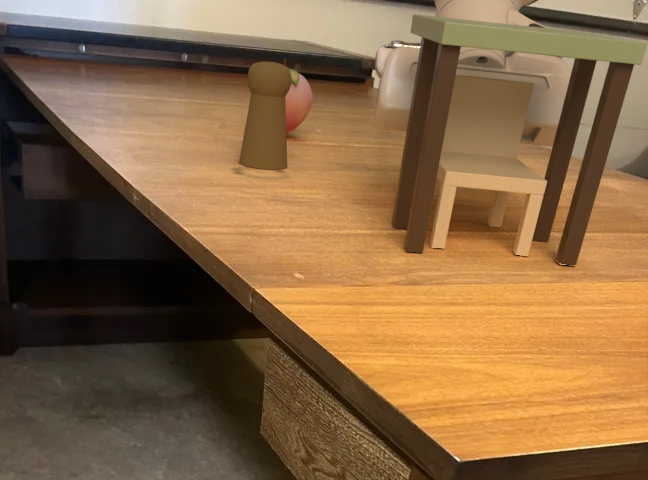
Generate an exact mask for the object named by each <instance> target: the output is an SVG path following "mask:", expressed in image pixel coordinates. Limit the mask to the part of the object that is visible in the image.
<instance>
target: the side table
mask: <svg viewBox="0 0 648 480" xmlns="http://www.w3.org/2000/svg"><path fill="white" fill-rule="evenodd" d="M411 18H412V19H411V26H410V34H412V35H415V36H418V37H420V39H421V40H420V43H421V45H420V51H419V57H418V64H417V70H416V76H415V82H414V88H413V95H412V101H411V107H410V113H409V119H408V125H407V132H405V139H404V145H403V150H402V156H401V157H402V158H401V163H400V164H401V165H400V169H399V175H398V182H397V189H396V194H395V201H394V207H393V213H392V219H391V225H392V227H393V228H394V229H402V230H406V233H405V237H404V238H405V239H404V245H403V248H404V250H405V252H406V253H412V252H416V253H415V254H422V253H423V252H424V247H425V244H426V243H425V242H426V236H427V233H428V232H427V231H428V227H429V221H430V216H431V215H430V214H431V210H432V204H433V199H434V195H433V194H434V189H435V183H436V178H437V173H438V167H439V162H440V156H441V151H442V146H443V140H444V135H445V129H446V124H447V119H448V113H449V108H450V102H451V97H452V92H453V86H454V81H455V75H456V70H457V65H458V59H459V54H460V48H461V46H462V47H471V48H481V49H491V50H500V51H510V52H520V53H529V54H539V55H549V56H558V57H563V58H570V59H574V61H573V65H572V68H571V76H570V80H569V84H568V88H567V92H566V96H565V100H564V104H563V108H562V111H561V115H560V119H559V123H558V127H557V131H556V135H555V139H554V143H553V147H551V151H550V155H549V159H548V163H547V166H546V171H545V175H544V177H543V178H544V179H545V180H546V181H547V184H546V188H545V192H544V195H543V200H542V204H541V208H540V212H539V215H538V219H537V223H536V227H535V231H534V235H533V239H532V241H534V240H535V241H536V242H545V241H548V242H550V237H551V233H552V229H553V225H554V222H555V218H556V214H557V210H558V207H559V203H560V200H561V195H562V192H563V189H564V185H565V181H566V178H567V173H568V170H569V166H570V162H571V159H572V155H573V151H574V148H575V144H576V140H577V136H578V133H579V128H580V125H581V121H582V118H583V114H584V110H585V106H586V102H587V99H588V95H589V91H590V87H591V84H592V80H593V76H594V72H595V69H596V66H597V62H609V63H608V67H607V70H606V75H605V78H604V81H603V84H602V85H603V86H602V89H601V92H600V96H599V100H598V104H597V108H596V110H595V114H594V117H593V121H592V125H591V129H590V132H589V136H588V140H587V143H586V146H585V151H584V154H583V158H582V161H581V164H580V168H579V172H578V176H577V179H576V183H575V187H574V190H573V194H572V198H571V201H570V205H569V208H568V211H567V215H566V220H565V223H564V226H563V229H562V233H561V238H560V241H559V244H558V248H557V252H556V255H555V260H557V261H558V262H559V263H561V264H566V265H576V266H577V263H578V260H579V256H580V253H581V249H582V246H583V242H584V240H585V235H586V231H587V228H588V225H589V221H590V218H591V216H592V215H591V214H592V212H593V208H594V204H595V200H596V199H597V194H598V190H599V187H600V184H601V180H602V176H603V174H604V170H605V168H606V167H605V166H606V163H607V160H608V156H609V152H610V150H611V146H612V143H613V140H614V136H615V133H616V129H617V126H618V122H619V118H620V115H621V112H622V108H623V105H624V101H625V98H626V94H627V91H628V88H629V84H630V81H631V77H632V73H633V70H634V67H635V65H636V66H637V65H638V66H641V65H642V64H643V60H644V57H645V54H646V50H647V46H648V43H647V42H643V41H637V40H632V39H626V38H620V37H613V36H609V35H602V34H597V33H591V32H585V31H578V30H567V29H557V28H550V27H548V28H540V27H530V26H521V25H512V24H502V23H493V22H483V21H474V20H464V19H455V18H445V17H436V16H435V15H426V14H417V13H413V14H412V17H411ZM549 28H550V29H549ZM535 241H534V242H535ZM555 260H554V261H555Z"/></svg>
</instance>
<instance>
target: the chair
mask: <svg viewBox="0 0 648 480" xmlns="http://www.w3.org/2000/svg"><path fill="white" fill-rule="evenodd" d="M533 86H534V83H531V82H523V81H513V80H503V79H494V78H484V77H474V76H464V75H455V81H454V86H453V92H452V97H451V102H450V108H449V113H448V119H447V124H446V129H445V135H444V140H443V146H442V151H441V156H440V162H439V167H438V173H437V178H436V183H435V189H434V194H433V196H434V195H435V196H438V198H437V204H436V208H435V212H434V213H435V214H434V217H433V218H434V219H433V224H432V230H431V234H430V240H429V247H430V246H431V247H430V248H431V249H433V248H443V249H442V250H445V247H446V244H447V243H446V242H447V239H448V232H449V228H450V223H451V217H452V212H453V208H454V203H455V198H465V199H475V200H486V201H491V205H490V210H489V213H488V218H487V222H486V224H487V225H488V226H489V227H490V228H500V229H501V228H502V225H503V221H504V217H505V212H506V208H507V203H508V200H509V194H510V193H517V194H526V195H525V199H524V204H523V208H522V212H521V216H520V220H519V224H518V228H517V232H516V236H515V241H514V244H513V249H512V254H513V255H514V254H515V255H520V256H519V257H522V256H528V257H529V254H530V250H531V246H532V242H533V235H534V231H535V227H536V223H537V219H538V215H539V212H540V208H541V204H542V200H543V195H544V192H545V188H546V184H547V181H546V180H545V179H544V178H545V177H543V176H541V175H540V174H538V173H537V171H536V172H535V170H533V169H532V168H530V167H529V166H528V165H527V164H525V163H524V162H523V161H521V160H520V159H518V155H519V149H520V146H521V143H520V141H521V137H522V133H523V129H524V124H525V120H526V116H527V112H528V107H529V103H530V99H531V94H532V90H533ZM515 255H514V256H515ZM521 255H522V256H521Z"/></svg>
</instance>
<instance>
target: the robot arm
mask: <svg viewBox="0 0 648 480" xmlns="http://www.w3.org/2000/svg"><path fill="white" fill-rule="evenodd" d="M536 2H539V0H434V5H435V8H436V12H435V15H434V16H436V17H445V18H455V19H464V20H474V21H483V22H493V23H502V24H512V25H521V26H530V27H540V28H549V29H551V28H550V27H548V26H545V25H543V24H541V23H539V22H536V21H534V20H533V19H531V18H529V17H528V16H525V14H522V13H521V12H520V9H521V8H522V7H523V6H524V7H527V6H530V5H532V4H534V3H536ZM420 45H421V42H408V41H407V42H406V41H403V40H400V39H399V40H398V39H397V40H396V39H395V40H391V41H390V43H387V44H384V45H382V46H381V47H379V48H378V50H377V51H376V53H375V55H374V56H375V58H374V59H375V60H374V70H375V73H376V75H377V77H378V78H379V79H380V82H379V85H378V90H377V95H376V100H375V106H374V112H373V113H374V115H373V119H374V121H375V123H376V124H377V126H378V127H379V128H380V129H381V130H385V131H395V132H396V131H397V132H404V133H406V132H407V125H408V119H409V113H410V107H411V101H412V95H413V88H414V82H415V76H416V70H417V64H418V57H419V51H420ZM563 58H564V57H558V56H549V55H539V54H529V53H520V52H510V51H500V50H491V49H481V48H471V47H462V46H461V48H460V54H459V59H458V65H457V70H456V75H464V76H474V77H484V78H494V79H503V80H513V81H523V82H531V83H534V86H533V90H532V94H531V99H530V103H529V107H528V112H527V116H526V120H525V124H524V129H523V133H522V137H521V141H520V144H523V145H531V146H532V145H533V146H542V147H551V148H552V147H553V143H554V139H555V135H556V131H557V127H558V123H559V119H560V115H561V111H562V108H563V104H564V100H565V96H566V92H567V88H568V84H569V80H570V76H571V72H572V69H570V66H569V65H568V63H567V62H566V61H565V60H564V59H563Z"/></svg>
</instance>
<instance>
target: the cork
mask: <svg viewBox="0 0 648 480" xmlns="http://www.w3.org/2000/svg"><path fill="white" fill-rule="evenodd" d="M289 69H290V68H289V67H287V65H286V66H284V64H282V63H278V62H275V61H257V62H254V63H253V64H251V65H250V67H249V69H248V73H247V87H248V89H249V91H250V97H249V103H248V109H247V114H246V115H247V116H246V119H245V121H246V122H245V126H244V133H243V138H242V143H241V149H240V154H239V159H238V163H239V164H240V165H242V166H245V167H248V168H253V169H260V170H262V169H263V170H284V169H287V168H288V148H287V147H288V144H287V143H288V142H287V134H286V105H285V96H286V95H287V93H288V92H289V90H290V87H291V80H292V79H291V73H290V71H289Z"/></svg>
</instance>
